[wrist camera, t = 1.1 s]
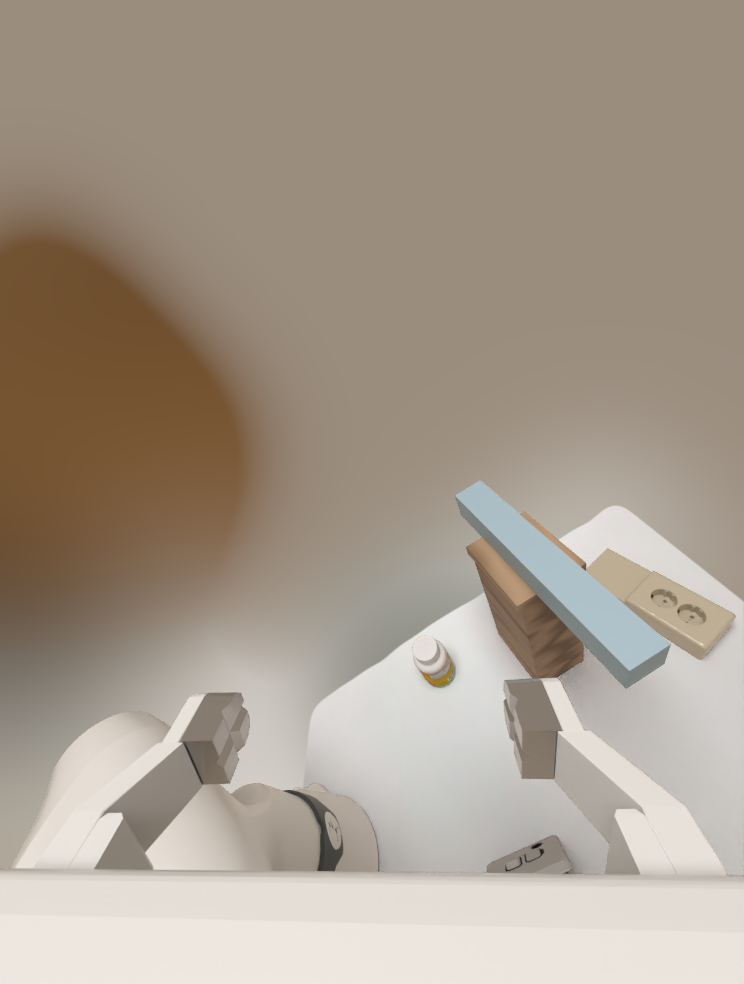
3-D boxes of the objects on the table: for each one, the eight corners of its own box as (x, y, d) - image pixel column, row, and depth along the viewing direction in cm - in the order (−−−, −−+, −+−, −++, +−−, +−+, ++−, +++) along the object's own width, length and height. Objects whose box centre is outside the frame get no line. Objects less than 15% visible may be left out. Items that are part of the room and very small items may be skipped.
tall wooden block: (537, 689, 57) (517, 606, 40) (496, 635, 65) (465, 547, 48) (586, 658, 57) (586, 563, 41) (540, 608, 65) (524, 511, 49)
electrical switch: (556, 833, 46) (557, 835, 39) (585, 893, 42) (591, 906, 36) (486, 864, 46) (476, 871, 40) (509, 925, 43) (502, 944, 36)
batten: (625, 688, 32) (629, 671, 30) (461, 514, 52) (454, 495, 50) (664, 663, 32) (670, 644, 30) (485, 500, 52) (480, 480, 50)
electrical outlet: (607, 545, 65) (737, 614, 51) (607, 558, 67) (730, 627, 54) (580, 571, 63) (706, 649, 50) (580, 584, 66) (700, 662, 52)
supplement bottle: (421, 661, 66) (404, 637, 60) (449, 651, 66) (435, 625, 60) (430, 692, 62) (413, 670, 56) (460, 681, 62) (446, 658, 56)
